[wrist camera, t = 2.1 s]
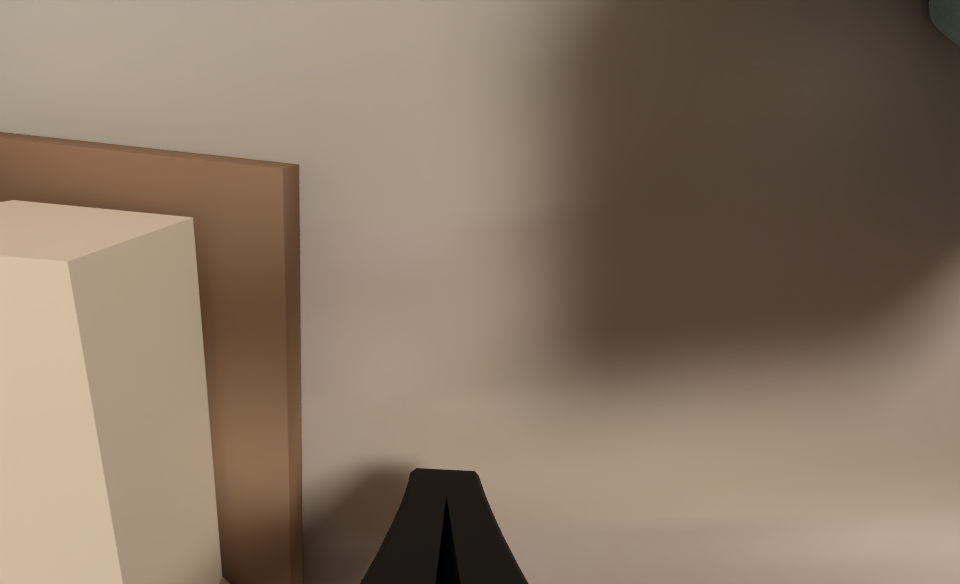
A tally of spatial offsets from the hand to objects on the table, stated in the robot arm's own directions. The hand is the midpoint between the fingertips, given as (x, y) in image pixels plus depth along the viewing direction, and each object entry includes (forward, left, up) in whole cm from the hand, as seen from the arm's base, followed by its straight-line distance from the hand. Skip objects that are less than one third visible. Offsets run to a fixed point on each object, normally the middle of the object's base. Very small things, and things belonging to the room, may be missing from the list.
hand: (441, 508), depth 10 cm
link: (0, +6, -1) cm, 7 cm away
